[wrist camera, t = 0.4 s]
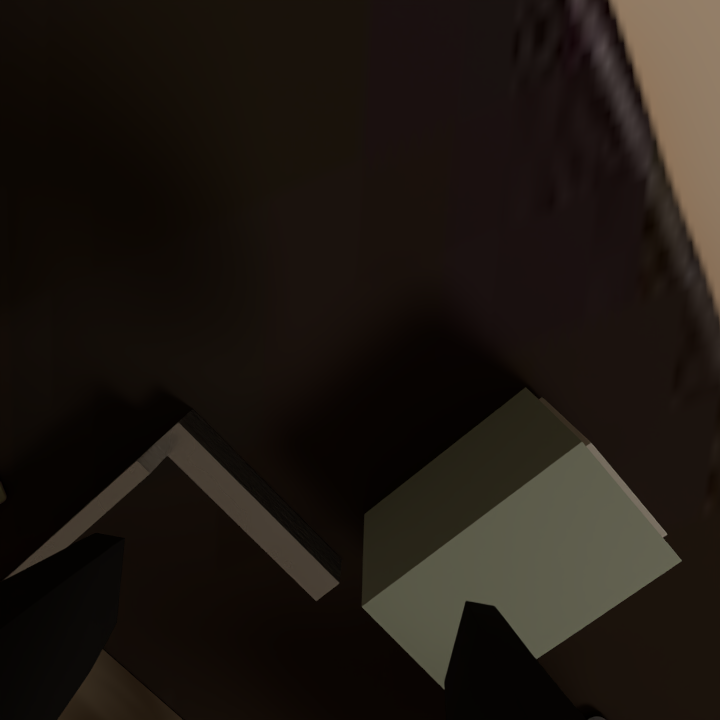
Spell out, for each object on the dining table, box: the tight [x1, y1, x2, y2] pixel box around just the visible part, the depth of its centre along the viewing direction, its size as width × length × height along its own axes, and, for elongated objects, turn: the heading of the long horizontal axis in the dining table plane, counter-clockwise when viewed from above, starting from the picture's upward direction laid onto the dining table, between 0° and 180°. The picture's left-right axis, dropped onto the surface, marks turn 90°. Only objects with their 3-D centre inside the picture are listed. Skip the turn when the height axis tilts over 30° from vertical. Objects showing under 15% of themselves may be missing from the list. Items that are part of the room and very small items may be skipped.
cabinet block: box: [362, 387, 682, 690], centre depth 18 cm, size 5×8×6 cm, turn 131°
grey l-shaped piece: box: [2, 409, 342, 601], centre depth 20 cm, size 8×11×3 cm
